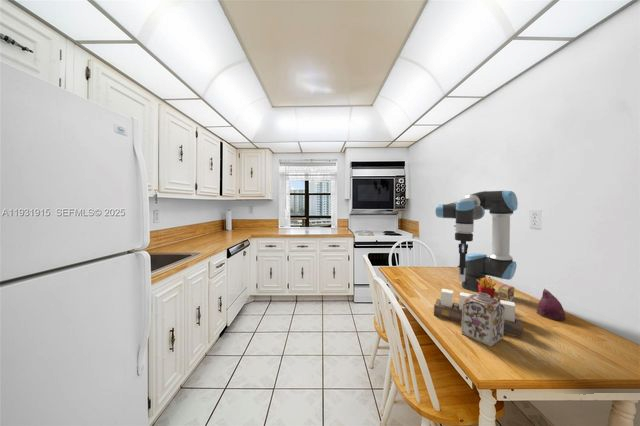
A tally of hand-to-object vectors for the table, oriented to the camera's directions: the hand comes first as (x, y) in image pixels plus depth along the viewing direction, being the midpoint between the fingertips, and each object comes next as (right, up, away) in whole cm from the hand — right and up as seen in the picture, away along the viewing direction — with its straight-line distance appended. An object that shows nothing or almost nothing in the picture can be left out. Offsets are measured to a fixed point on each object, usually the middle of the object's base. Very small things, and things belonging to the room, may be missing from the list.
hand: (461, 280), depth 117 cm
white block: (+1, -14, 0) cm, 14 cm away
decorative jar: (-1, -19, -16) cm, 25 cm away
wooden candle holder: (+5, -19, -3) cm, 19 cm away
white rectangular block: (-5, -13, +4) cm, 15 cm away
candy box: (+23, -19, +3) cm, 30 cm away
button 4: (+15, -14, -9) cm, 23 cm away
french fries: (+24, -18, +19) cm, 36 cm away
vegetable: (+48, -20, +5) cm, 52 cm away
